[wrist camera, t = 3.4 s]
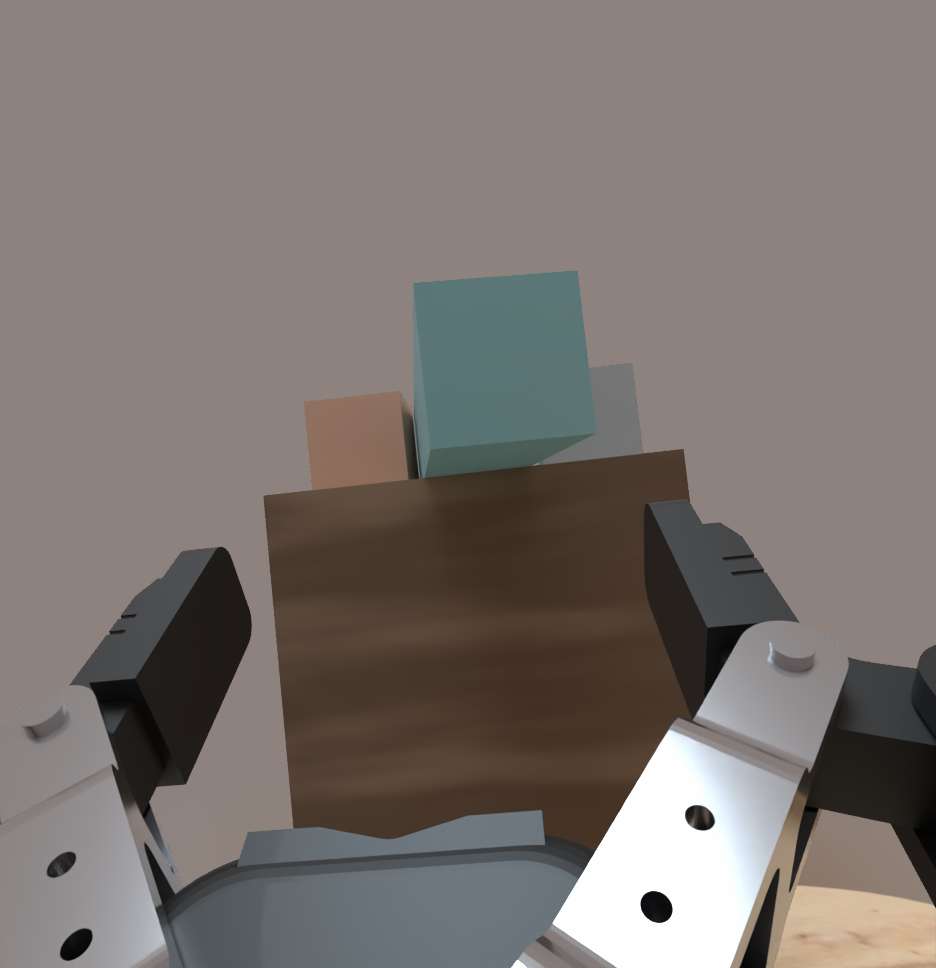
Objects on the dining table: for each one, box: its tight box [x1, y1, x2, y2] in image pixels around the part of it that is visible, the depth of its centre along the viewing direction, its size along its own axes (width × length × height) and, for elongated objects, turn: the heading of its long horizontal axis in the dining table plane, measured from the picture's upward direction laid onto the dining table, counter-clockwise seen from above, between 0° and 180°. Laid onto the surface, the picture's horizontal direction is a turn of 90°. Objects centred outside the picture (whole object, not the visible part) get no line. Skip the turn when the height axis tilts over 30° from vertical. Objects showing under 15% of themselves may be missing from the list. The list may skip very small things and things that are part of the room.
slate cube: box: [539, 363, 643, 465], centre depth 32 cm, size 4×4×4 cm
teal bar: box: [413, 271, 596, 478], centre depth 28 cm, size 24×4×4 cm, turn 5°
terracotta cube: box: [304, 391, 419, 490], centre depth 33 cm, size 4×4×4 cm
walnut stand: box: [264, 449, 692, 851], centre depth 32 cm, size 15×16×32 cm
